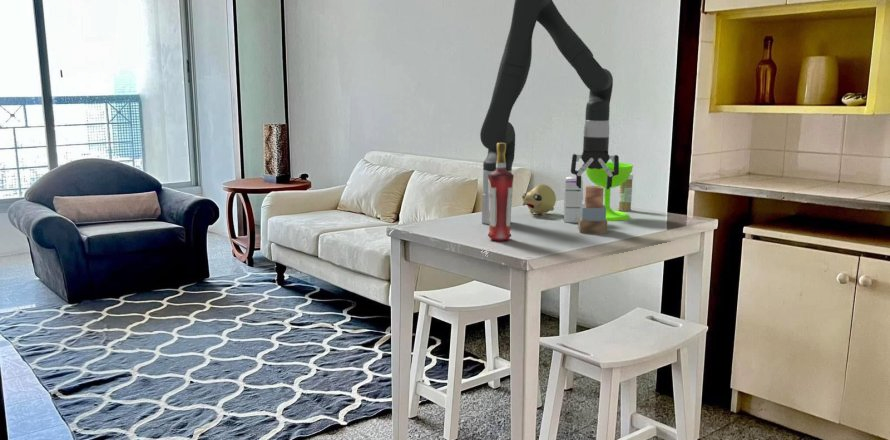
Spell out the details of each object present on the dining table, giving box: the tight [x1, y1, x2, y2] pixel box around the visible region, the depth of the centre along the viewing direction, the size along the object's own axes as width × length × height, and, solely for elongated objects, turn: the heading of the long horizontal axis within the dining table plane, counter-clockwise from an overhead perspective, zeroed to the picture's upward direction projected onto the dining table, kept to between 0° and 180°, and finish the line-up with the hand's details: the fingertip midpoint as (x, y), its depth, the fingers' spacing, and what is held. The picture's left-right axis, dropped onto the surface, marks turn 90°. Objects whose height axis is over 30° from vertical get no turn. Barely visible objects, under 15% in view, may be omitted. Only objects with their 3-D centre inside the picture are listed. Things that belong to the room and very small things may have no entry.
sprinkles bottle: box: [617, 173, 634, 212], centre depth 262 cm, size 5×5×14 cm
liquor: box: [487, 143, 515, 242], centre depth 210 cm, size 7×7×28 cm
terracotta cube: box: [584, 185, 605, 208], centre depth 224 cm, size 5×5×6 cm
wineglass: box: [584, 161, 634, 222], centre depth 249 cm, size 16×16×18 cm
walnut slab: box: [577, 216, 608, 235], centre depth 226 cm, size 8×8×4 cm
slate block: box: [581, 203, 606, 222], centre depth 225 cm, size 7×7×4 cm
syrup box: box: [563, 176, 584, 224], centre depth 241 cm, size 6×6×14 cm
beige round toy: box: [521, 183, 557, 217], centre depth 253 cm, size 10×12×11 cm
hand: (593, 188), depth 223 cm, fingers open, 8 cm apart
